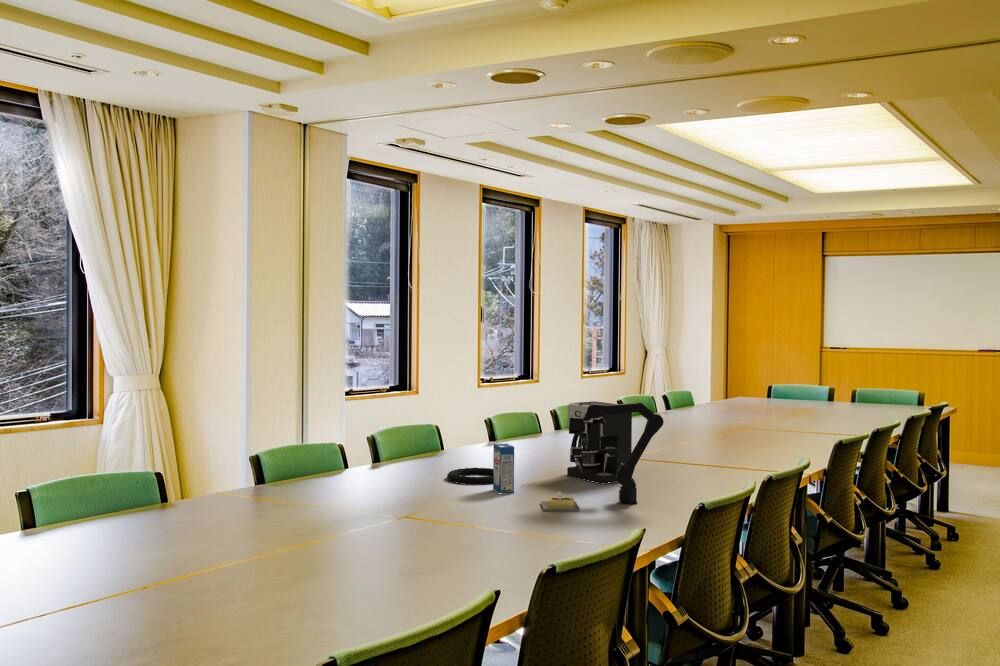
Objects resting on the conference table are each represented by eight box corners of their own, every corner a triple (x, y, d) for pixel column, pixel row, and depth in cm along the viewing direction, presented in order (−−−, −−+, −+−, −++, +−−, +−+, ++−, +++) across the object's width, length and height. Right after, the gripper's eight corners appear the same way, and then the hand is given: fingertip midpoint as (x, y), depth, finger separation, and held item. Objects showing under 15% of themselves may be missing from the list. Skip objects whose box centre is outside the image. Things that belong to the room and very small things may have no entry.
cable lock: (455, 465, 415) (516, 468, 409) (455, 473, 415) (516, 476, 410) (439, 475, 388) (505, 478, 382) (439, 484, 388) (505, 487, 382)
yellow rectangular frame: (572, 503, 345) (572, 497, 345) (574, 506, 338) (574, 500, 338) (547, 503, 344) (547, 497, 344) (548, 506, 338) (548, 500, 338)
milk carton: (513, 493, 368) (514, 446, 367) (500, 494, 366) (500, 447, 365) (506, 488, 377) (507, 443, 377) (493, 489, 375) (493, 443, 375)
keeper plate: (575, 503, 349) (575, 488, 348) (579, 511, 335) (579, 496, 334) (540, 503, 348) (540, 488, 348) (543, 511, 334) (543, 496, 334)
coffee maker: (560, 475, 412) (561, 401, 411) (590, 471, 423) (591, 399, 423) (601, 484, 389) (601, 407, 388) (631, 479, 401) (632, 404, 400)
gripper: (612, 431, 361) (612, 468, 361) (568, 431, 360) (568, 469, 360) (617, 435, 350) (617, 473, 350) (572, 435, 349) (571, 473, 349)
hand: (593, 472), depth 353 cm, fingers open, 9 cm apart
